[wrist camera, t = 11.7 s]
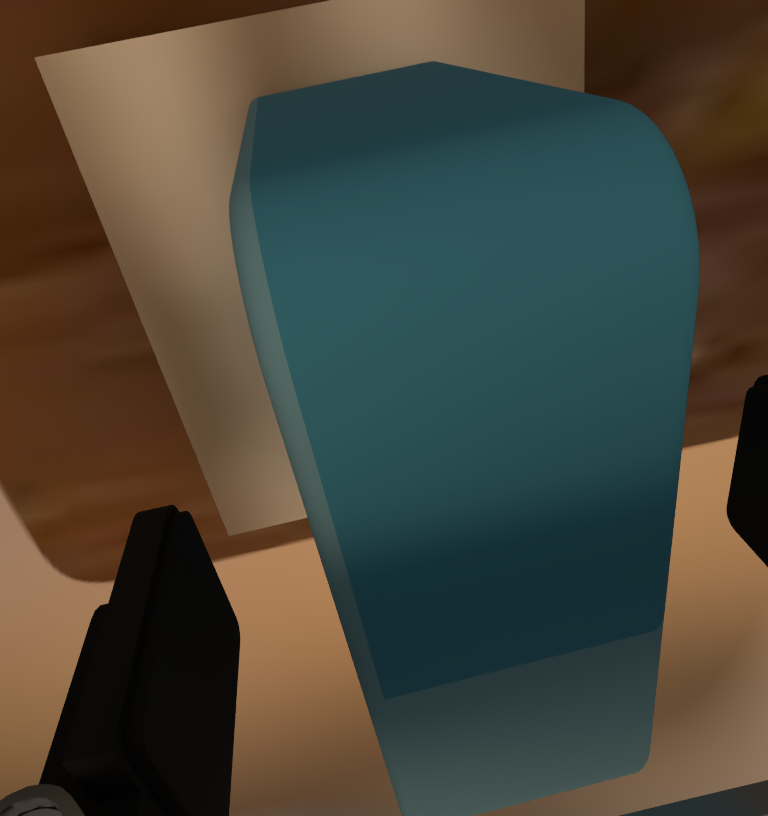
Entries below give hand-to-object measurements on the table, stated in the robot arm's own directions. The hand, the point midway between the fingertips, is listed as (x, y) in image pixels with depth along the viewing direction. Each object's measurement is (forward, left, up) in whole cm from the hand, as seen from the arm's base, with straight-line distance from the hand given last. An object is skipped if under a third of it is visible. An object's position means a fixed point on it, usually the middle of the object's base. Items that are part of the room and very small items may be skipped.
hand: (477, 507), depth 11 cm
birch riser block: (0, 0, -15) cm, 15 cm away
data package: (0, 0, -10) cm, 10 cm away
